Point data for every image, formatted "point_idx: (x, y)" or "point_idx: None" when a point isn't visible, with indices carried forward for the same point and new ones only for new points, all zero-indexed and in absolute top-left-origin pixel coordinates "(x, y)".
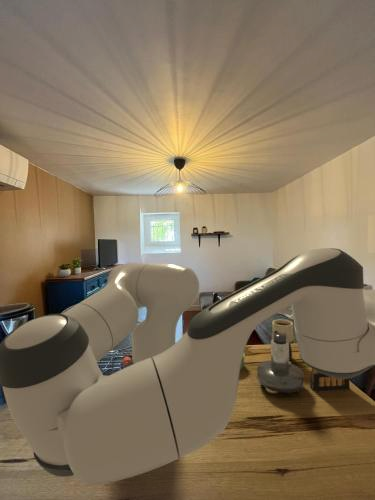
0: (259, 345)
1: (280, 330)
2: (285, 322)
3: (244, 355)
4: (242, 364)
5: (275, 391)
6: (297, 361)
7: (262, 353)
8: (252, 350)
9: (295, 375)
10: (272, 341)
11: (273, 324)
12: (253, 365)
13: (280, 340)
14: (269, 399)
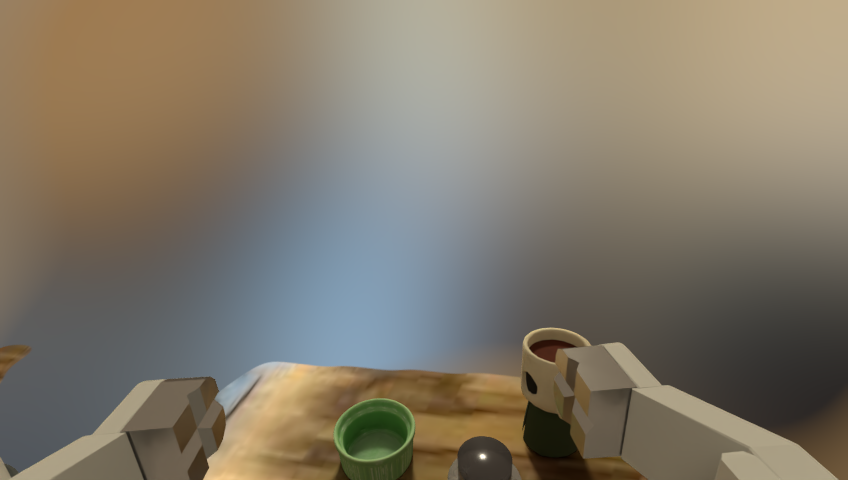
0: (499, 377)
1: (541, 376)
2: (571, 340)
3: (408, 442)
4: (398, 468)
5: None
6: (591, 467)
7: (493, 413)
8: (470, 396)
9: None
10: (454, 472)
11: (523, 349)
12: (441, 466)
13: None
14: None
